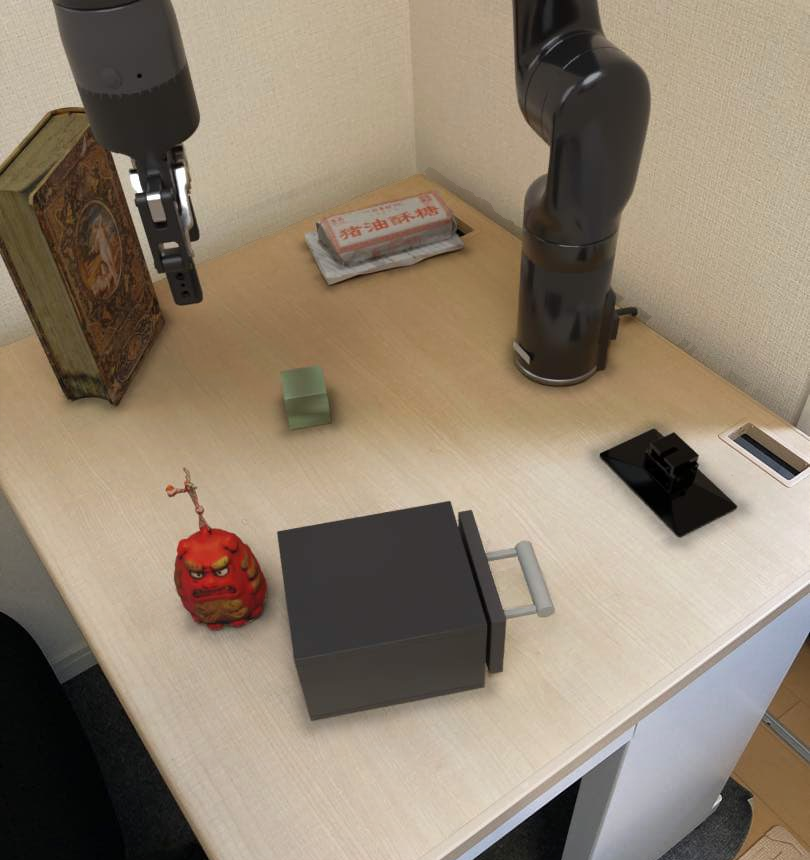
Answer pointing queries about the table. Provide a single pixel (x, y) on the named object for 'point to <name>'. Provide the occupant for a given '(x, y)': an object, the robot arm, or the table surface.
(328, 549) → the cabinet
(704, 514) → the build plate
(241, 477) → the table surface
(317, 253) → the packaged product
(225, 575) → the red clay folk toy
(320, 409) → the block
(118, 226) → the book
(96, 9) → the robot arm
